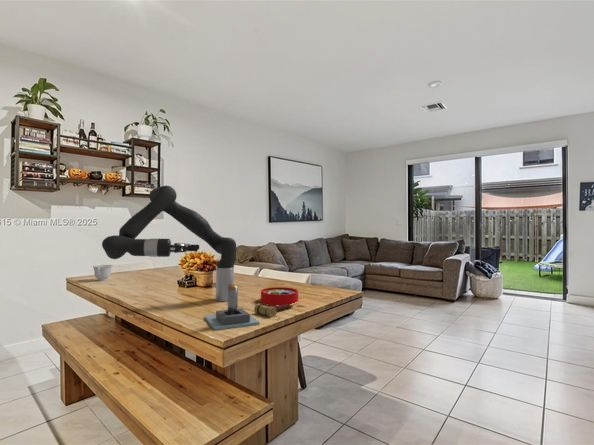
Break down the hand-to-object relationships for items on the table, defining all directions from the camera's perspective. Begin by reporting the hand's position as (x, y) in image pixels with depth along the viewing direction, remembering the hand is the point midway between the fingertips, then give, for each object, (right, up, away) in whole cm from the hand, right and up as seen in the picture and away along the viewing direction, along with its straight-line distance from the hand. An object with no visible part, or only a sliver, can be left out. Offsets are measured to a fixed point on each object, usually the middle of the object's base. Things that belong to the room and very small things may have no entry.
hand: (198, 247), depth 137 cm
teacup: (-93, -30, +86) cm, 130 cm away
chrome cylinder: (+15, -29, -5) cm, 33 cm away
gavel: (+33, -31, +14) cm, 48 cm away
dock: (+15, -30, -3) cm, 34 cm away
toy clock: (+33, -32, +34) cm, 57 cm away
